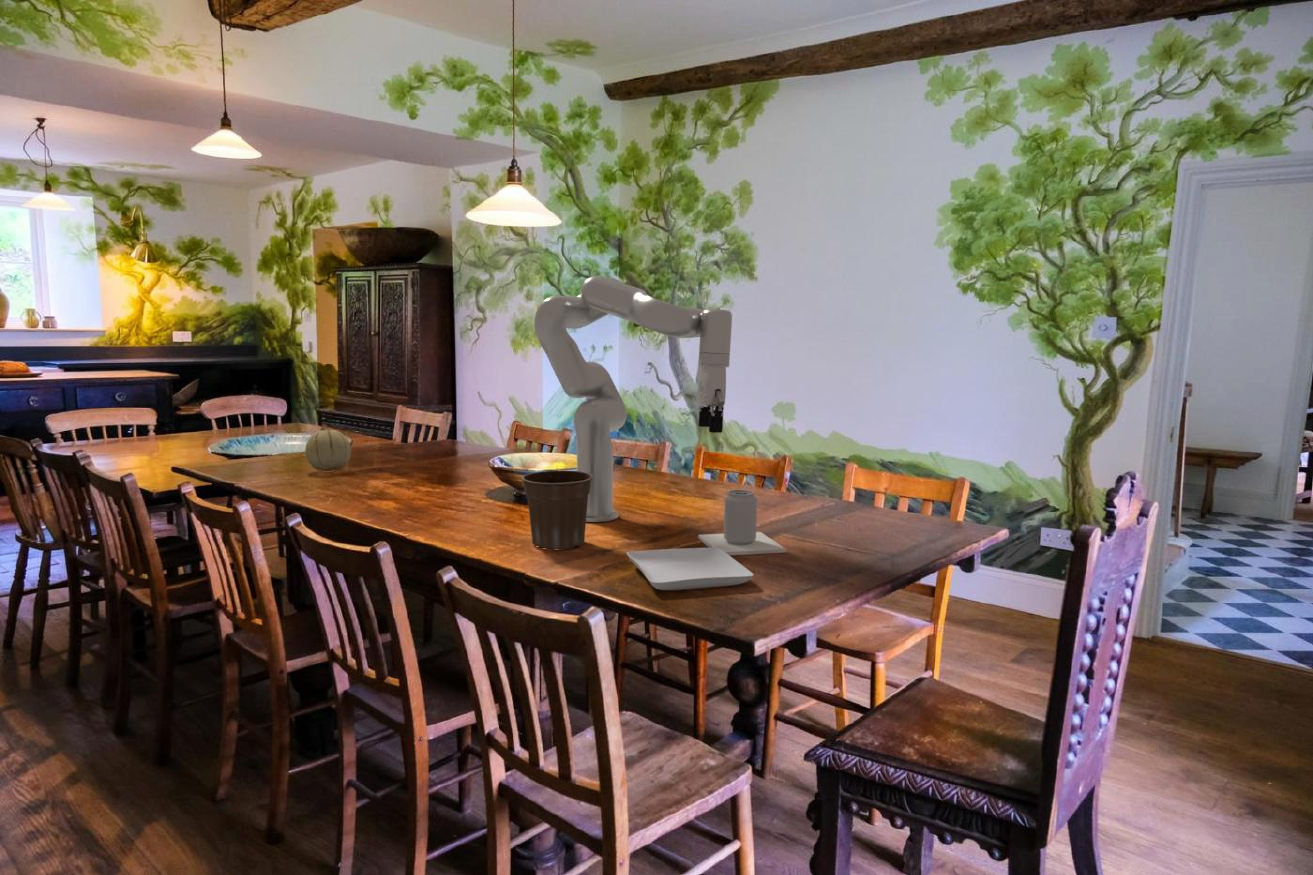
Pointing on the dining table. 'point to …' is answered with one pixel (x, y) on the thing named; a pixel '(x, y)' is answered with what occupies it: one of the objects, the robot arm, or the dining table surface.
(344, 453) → the cantaloupe
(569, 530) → the plant pot
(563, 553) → the dining table surface
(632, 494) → the dining table surface
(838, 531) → the dining table surface
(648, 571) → the salad plate
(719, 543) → the mat
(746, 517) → the can
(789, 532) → the dining table surface
